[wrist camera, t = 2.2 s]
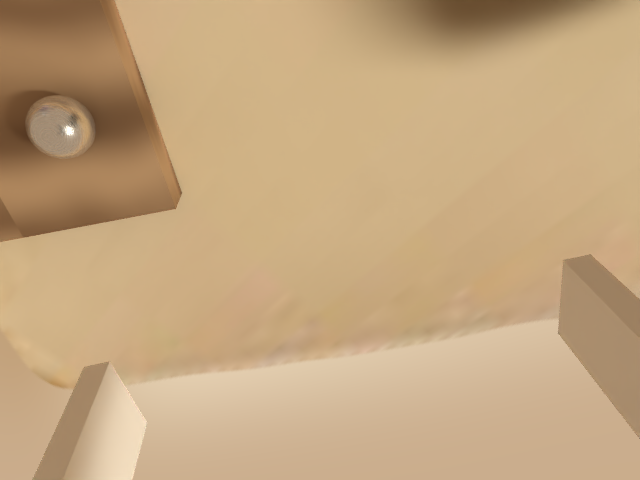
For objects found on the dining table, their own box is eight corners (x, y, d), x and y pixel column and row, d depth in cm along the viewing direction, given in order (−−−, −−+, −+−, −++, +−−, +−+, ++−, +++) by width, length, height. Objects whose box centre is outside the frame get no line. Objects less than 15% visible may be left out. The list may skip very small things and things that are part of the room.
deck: (-204, 32, 27) (-245, 38, 25) (104, -28, 27) (89, -27, 25) (-63, 239, 34) (-85, 258, 32) (181, 193, 34) (175, 208, 32)
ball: (30, 94, 28) (0, 111, 25) (89, 83, 28) (66, 98, 25) (57, 151, 29) (32, 173, 26) (112, 140, 29) (94, 161, 26)
